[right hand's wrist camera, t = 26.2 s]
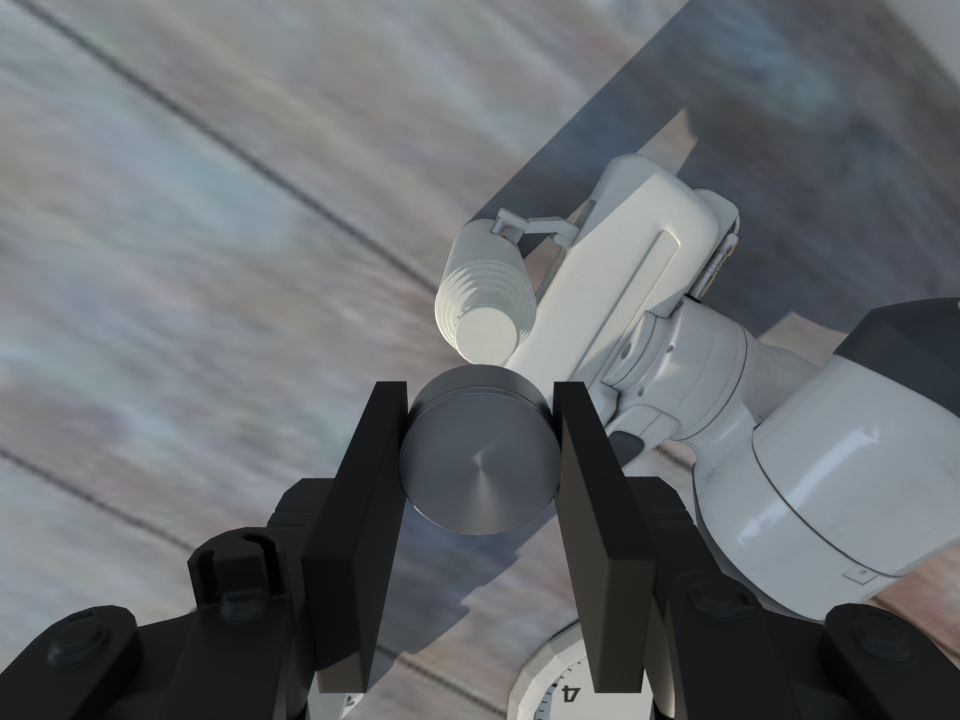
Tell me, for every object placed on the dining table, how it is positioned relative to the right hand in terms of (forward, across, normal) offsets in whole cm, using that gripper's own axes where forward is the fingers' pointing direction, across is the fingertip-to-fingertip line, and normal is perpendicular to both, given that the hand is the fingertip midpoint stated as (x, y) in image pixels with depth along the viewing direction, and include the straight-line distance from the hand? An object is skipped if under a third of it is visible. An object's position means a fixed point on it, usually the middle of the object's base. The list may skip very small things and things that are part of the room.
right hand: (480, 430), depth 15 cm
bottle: (+28, 0, 0) cm, 28 cm away
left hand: (+22, 0, 0) cm, 22 cm away
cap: (-1, 0, 0) cm, 1 cm away
